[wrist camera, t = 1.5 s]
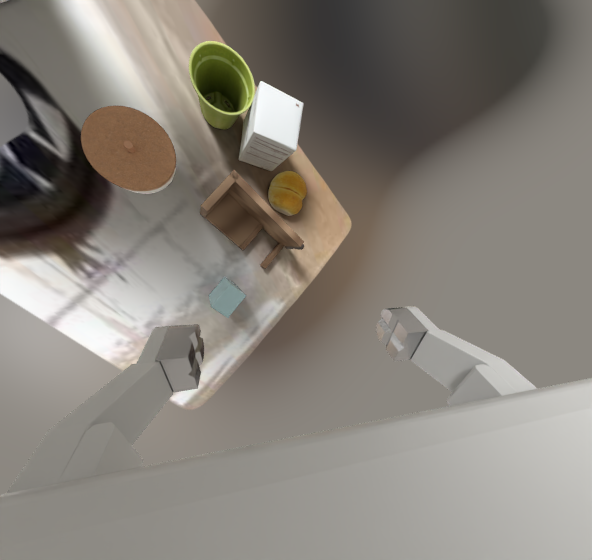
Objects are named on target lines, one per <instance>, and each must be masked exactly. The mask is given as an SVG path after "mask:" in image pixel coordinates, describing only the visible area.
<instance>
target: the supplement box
mask: <svg viewBox="0 0 592 560" xmlns="http://www.w3.org/2000/svg"><path fill="white" fill-rule="evenodd" d="M302 109H303V103H302V102H300V101H298V100H296V99H294V98H293V97H291V96H289V95H287V94H285V93H283V92H281V91H279V90H278V89H276V88H274V87H272V86H270V85H268V84H266V83H264V82H262V81H261V82H260V84H259V86H258V88H257V91H256V93H255V96H254V98H253V102H252V104H251V106H250V107H249V110H248V112H247V115H246V117H245V119H244V122H243V131H242V139H241V147H240V153H239V159H238V160H240V161H243V162H246V163H249V164H251V165H254V166H257V167H260V168H263V169H266V170H269V171H273V170H274V169H275V168H276V167H277V166H279V165H280V164H281V163H282V162H283V161H284V160H285V159H286V158H288V157H289V156H290V155H291V154H292V153H293V152H295V151H296V148H297V142H298V135H299V129H300V122H301V115H302Z"/></svg>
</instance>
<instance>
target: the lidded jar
mask: <svg viewBox="0 0 592 560" xmlns="http://www.w3.org/2000/svg"><path fill="white" fill-rule="evenodd" d="M81 143H82V148H83V151H84V153H85V155H86V157H87V159H88V161H89V162H90V164H91V165H92V166H93V168H94V169H95V170H96V171H97V172H98V173H99V174H101V175H102V176H103V177H104V178H105V179H107V180H108V181H110V182H112V183H113V184H115V185H117V186H119V187H121V188H123V189H125V190H128V191H131V192H135V193H141V194H151V193H156V192H159V191H161V190H163V189H164V188H166V187H167V186H168V185H169V184H170V183H171V181H172V180H173V178H174V175H175V171H176V154H175V150H174V147H173V144H172V142H171V140H170V138H169V136H168V134H167V133H166V132H165V130H164V129H163V128H162V127H161V126H160V125H159V124H158V123H157V122H156V121H155V120H153V119H152V118H151V117H149V116H148V115H146V114H144V113H142V112H140V111H138V110H135V109H133V108H129V107H124V106H107V107H103V108H100V109H98V110H96V111H94V112H93V113H92V114H90V115H89V117H88V118H87V119H86V120H85V122H84V124H83V127H82V131H81Z"/></svg>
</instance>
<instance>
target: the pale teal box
mask: <svg viewBox="0 0 592 560" xmlns="http://www.w3.org/2000/svg"><path fill="white" fill-rule="evenodd" d="M245 297H246V295H245V294H244V293H243V292H242V291H241V289H240V288H239V287H238V286H236V285H235V284H234V283H232V282H231V281H230V280H228V279H227V278H226V277H224V278H223V279H222V280H221V281H220V283H219V284H218V285H217V286H216V287H215V288H214V290H213V291H212V292H211V293H210V294H209V299H210V304H211V307H212V308H213V309H215V310H216V311H218V312H219V313H221V314H222V315H224V316H225V317H227V318H228V317H229V316H230V315H231V314H232V313H233V311H234V310H235V309H236V308H237V306H238V305H239V304H240V303H241V302H242V300H243V299H244V298H245Z"/></svg>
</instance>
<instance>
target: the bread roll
mask: <svg viewBox="0 0 592 560" xmlns="http://www.w3.org/2000/svg"><path fill="white" fill-rule="evenodd" d="M306 193H307V188H306V184H305V182H304V180H303V179H302V177H301V176H300V175H298V174H297V173H295V172H293V171H284V172H281V173H279V174H278V175H276V176H275V177H274V178H273V180H272V181H271V184H270V188H269V191H268V198H269V202H270V204H271V206H272V207H273V209H275V210H277V211H278V212H280V213H282V214H285V215H287V216H291V215H294V214H297V213H298V212H299V211H300V210H301V208H302V200H303V199H304V198H305V196H306Z"/></svg>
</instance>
